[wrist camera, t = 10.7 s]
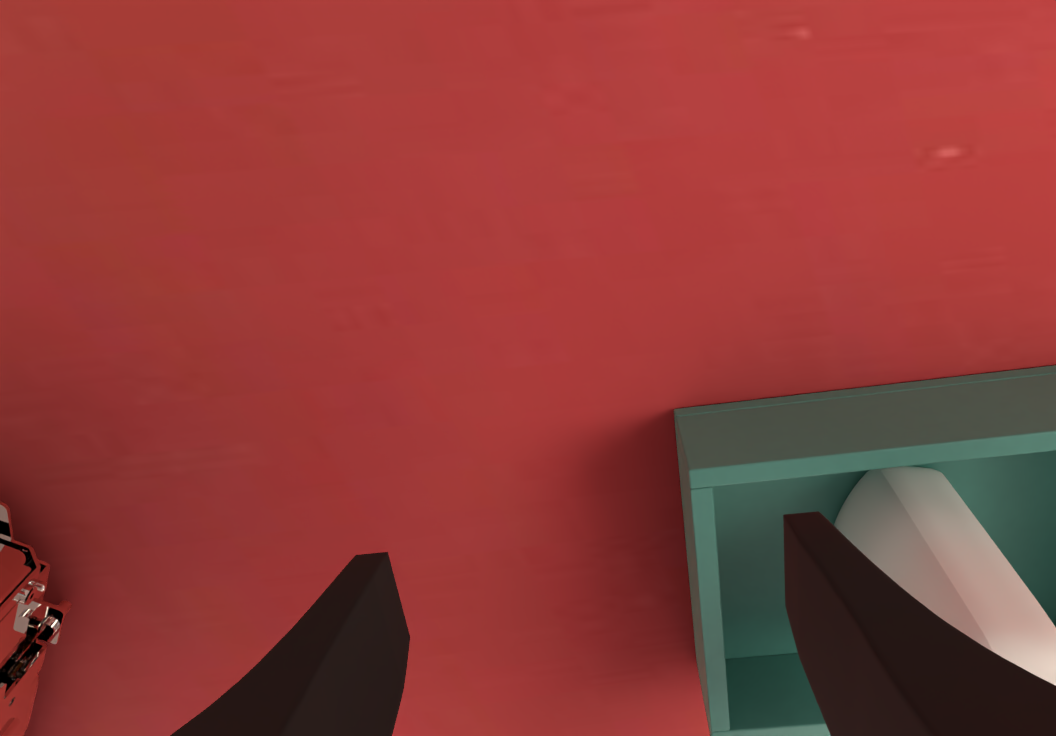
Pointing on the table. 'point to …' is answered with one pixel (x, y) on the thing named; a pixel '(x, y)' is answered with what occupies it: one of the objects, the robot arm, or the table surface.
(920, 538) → the eye dropper bottle
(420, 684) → the table surface
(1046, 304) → the table surface
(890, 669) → the robot arm
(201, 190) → the table surface
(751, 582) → the desk tidy
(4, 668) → the bill acceptor
